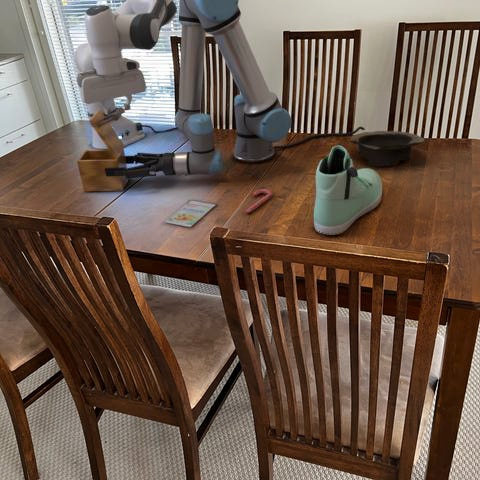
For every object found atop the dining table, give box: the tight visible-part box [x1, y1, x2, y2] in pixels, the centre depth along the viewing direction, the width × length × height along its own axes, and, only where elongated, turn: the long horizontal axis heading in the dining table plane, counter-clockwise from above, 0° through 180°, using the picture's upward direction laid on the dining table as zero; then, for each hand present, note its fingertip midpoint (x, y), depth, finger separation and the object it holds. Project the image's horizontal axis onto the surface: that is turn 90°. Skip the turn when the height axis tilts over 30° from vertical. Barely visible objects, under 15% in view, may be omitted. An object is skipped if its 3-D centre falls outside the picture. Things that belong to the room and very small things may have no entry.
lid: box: [88, 106, 126, 159], centre depth 154 cm, size 14×9×8 cm
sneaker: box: [313, 145, 383, 236], centre depth 133 cm, size 14×35×20 cm, turn 152°
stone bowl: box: [349, 130, 426, 167], centre depth 167 cm, size 25×25×9 cm
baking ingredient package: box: [164, 200, 216, 228], centre depth 143 cm, size 9×1×15 cm
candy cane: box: [245, 188, 273, 215], centre depth 146 cm, size 6×15×2 cm, turn 145°
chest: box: [76, 148, 129, 192], centre depth 162 cm, size 13×9×11 cm
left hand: (118, 111), depth 151 cm, fingers open, 5 cm apart
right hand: (110, 166), depth 161 cm, fingers closed on chest, 10 cm apart
